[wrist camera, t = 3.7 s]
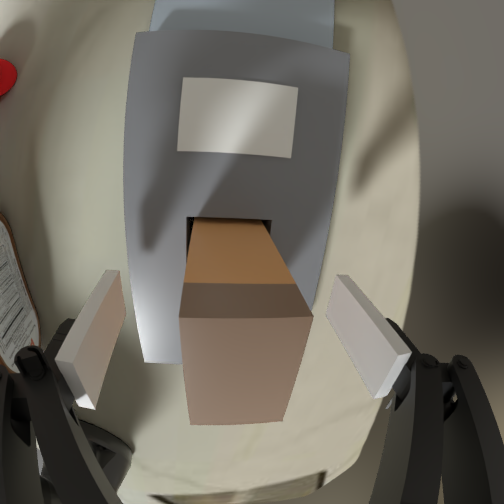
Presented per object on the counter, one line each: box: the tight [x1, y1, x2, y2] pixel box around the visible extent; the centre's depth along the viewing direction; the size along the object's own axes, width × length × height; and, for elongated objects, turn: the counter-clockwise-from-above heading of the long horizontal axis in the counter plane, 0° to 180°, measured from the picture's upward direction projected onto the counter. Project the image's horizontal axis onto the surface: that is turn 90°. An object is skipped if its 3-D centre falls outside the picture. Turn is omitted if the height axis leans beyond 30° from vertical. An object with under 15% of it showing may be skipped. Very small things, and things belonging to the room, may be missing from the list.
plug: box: [179, 217, 314, 425], centre depth 15 cm, size 4×6×12 cm, turn 175°
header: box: [123, 30, 350, 364], centre depth 17 cm, size 12×22×4 cm, turn 175°
